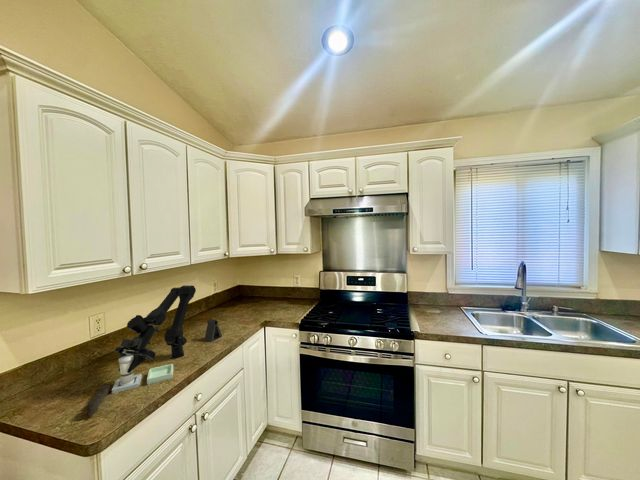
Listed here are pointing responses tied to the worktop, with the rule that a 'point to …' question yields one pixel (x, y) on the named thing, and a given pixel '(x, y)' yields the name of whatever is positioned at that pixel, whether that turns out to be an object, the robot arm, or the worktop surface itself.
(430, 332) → the worktop surface
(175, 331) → the robot arm
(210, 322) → the phone stand
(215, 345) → the worktop surface
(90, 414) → the hand tool
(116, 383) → the rectangular open frame
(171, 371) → the parts tray
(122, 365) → the mushroom-shaped knob
